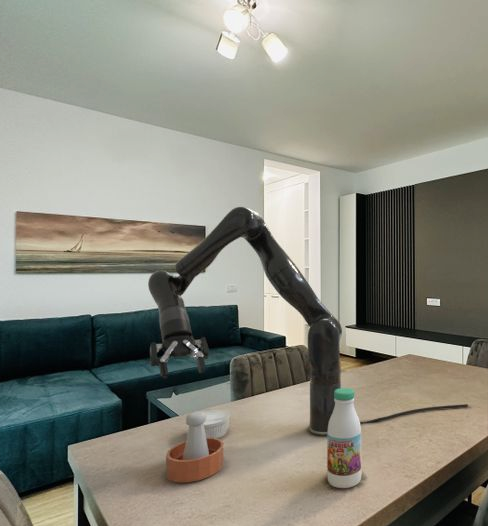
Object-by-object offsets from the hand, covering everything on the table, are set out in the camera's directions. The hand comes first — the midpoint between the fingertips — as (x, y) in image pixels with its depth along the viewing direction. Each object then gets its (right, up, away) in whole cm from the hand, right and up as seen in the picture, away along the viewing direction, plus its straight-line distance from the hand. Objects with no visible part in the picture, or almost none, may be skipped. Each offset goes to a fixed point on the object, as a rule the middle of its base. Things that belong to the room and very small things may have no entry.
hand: (184, 374), depth 98 cm
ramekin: (+2, -21, +10) cm, 23 cm away
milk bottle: (+43, -20, -14) cm, 50 cm away
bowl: (+8, -20, -10) cm, 23 cm away
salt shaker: (+8, -20, -10) cm, 23 cm away
